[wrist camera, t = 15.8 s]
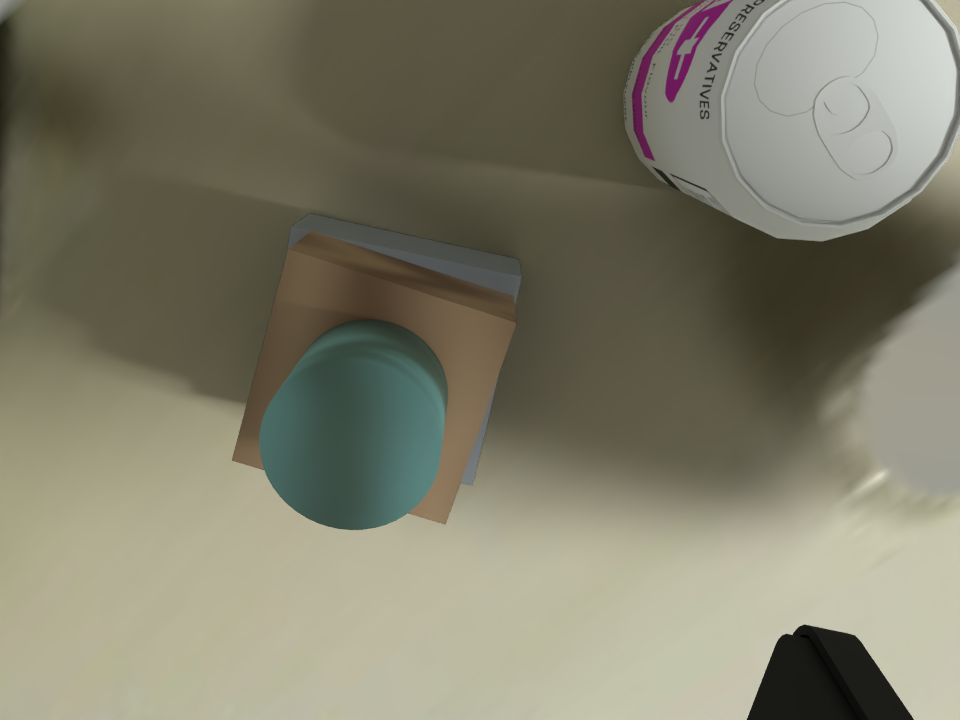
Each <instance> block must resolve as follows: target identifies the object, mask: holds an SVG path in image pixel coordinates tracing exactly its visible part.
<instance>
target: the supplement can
mask: <svg viewBox="0 0 960 720" xmlns="http://www.w3.org/2000/svg"><path fill="white" fill-rule="evenodd" d="M623 103H624V122H625V129H626V132H627V134H628V136H629V139H630V141H631V144H632V146H633V148H634V151H635V153H636V155H637V158H638V159H639V160H640V161H641V162H642V163H643V164H644V165H645V166H646V167H647V168H648V169H649V170H650V171H651V172H652V173H653V174H654V175H655V176H656V178H657V179H658V180H660V181H662V182H664V183H666V184H668V185H670V186H672V187H674V188H676V189H678V190H680V191H682V192H684V193H686V194H687V195H689V196H691V197H693V198H695V199H697V200H699V201H701V202H703V203H705V204H707V205H709V206H711V207H713V208H715V209H717V210H719V211H721V212H723V213H725V214H727V215H729V216H731V217H733V218H735V219H737V220H739V221H741V222H743V223H746V224H748V225H750V226H752V227H754V228H756V229H758V230H761V231H763V232H765V233H767V234H769V235H771V236H773V237H776V238H782V239H795V240H809V241H826V240H830V239H833V238H837V237H841V236H844V235H848V234H852V233H855V232H859V231H863V230H866V229H869V228H871V227H872V226H874V225H875V224H877V223H878V222H880V221H881V220H883V219H884V218H886V217H887V216H889V215H890V214H892V213H893V212H895V211H896V210H898V209H899V208H901V207H902V206H904V205H906V204H907V203H909V202H910V201H911V199H912V198H914V197H915V196H917V195H918V194H920V193H921V192H922V191H923V190H924V188H925V187H926V186H927V185H928V183H929V182H930V181H931V180H932V179H933V177H934V176H935V175H936V174H937V172H938V171H939V170H940V169H941V168H942V166H943V165H944V164H945V163H946V161H947V160H948V159H949V158H950V156H951V153H952V151H953V148H954V146H955V143H956V141H957V138H958V136H959V133H960V36H959V33H958V30H957V27H956V26H955V25H954V24H953V22H952V21H951V20H950V19H949V17H948V16H947V15H946V13H945V12H944V11H943V10H942V9H941V7H940V6H939V5H938V4H937V2H936V1H935V0H705V1H702V2H700V3H698V4H695V5H693V6H691V7H688V8H686V9H684V10H681V11H680V12H678V13H677V14H676V15H674V16H673V17H672V18H670V19H669V20H668V21H666V22H665V23H664V24H662V25H661V26H660V27H658V28H657V29H656V30H654V31H653V32H652V33H651V35H650V36H649V38H648V39H647V41H646V42H645V44H644V45H643V46H642V48H641V49H640V51H639V52H638V54H637V55H636V57H635V58H634V59H633V61H632V65H631V68H630V72H629V75H628V79H627V82H626V86H625V89H624V93H623Z"/></svg>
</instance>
